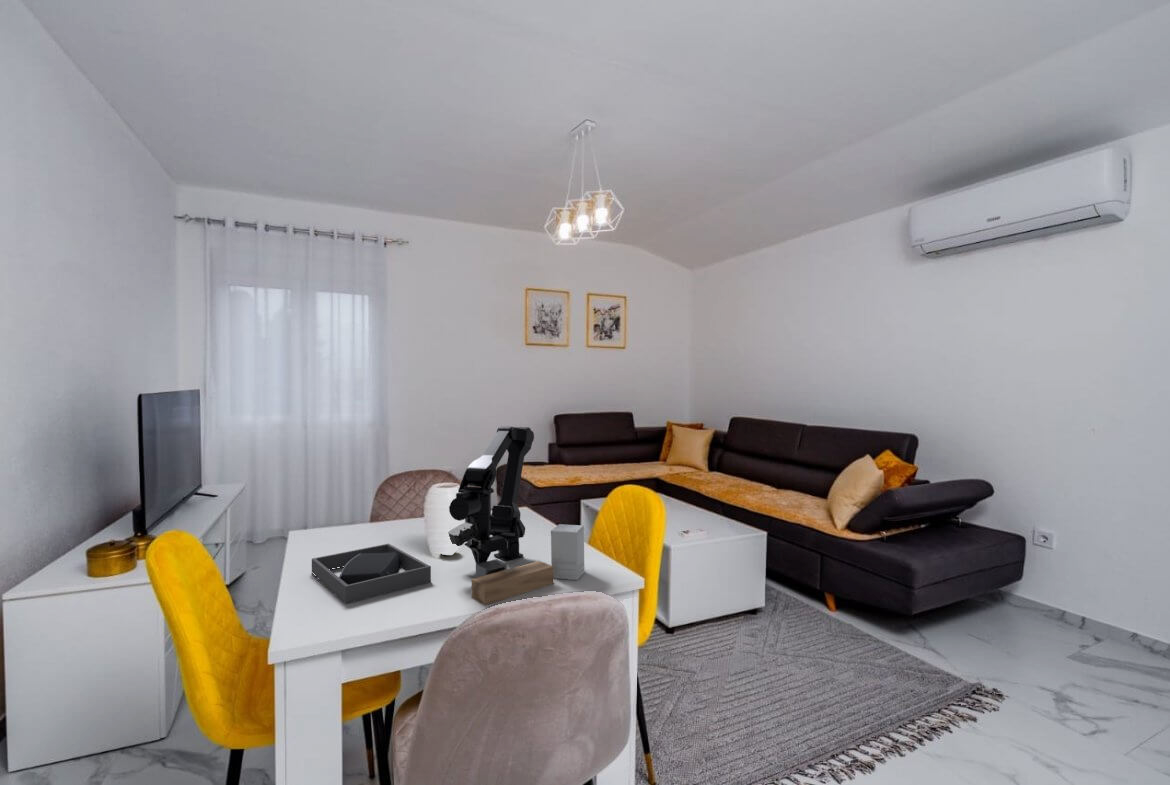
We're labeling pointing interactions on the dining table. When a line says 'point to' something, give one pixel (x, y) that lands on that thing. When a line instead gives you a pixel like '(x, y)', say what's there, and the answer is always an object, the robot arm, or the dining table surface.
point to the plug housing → (490, 567)
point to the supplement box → (567, 551)
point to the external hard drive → (369, 567)
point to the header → (511, 582)
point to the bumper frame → (374, 587)
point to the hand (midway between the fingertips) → (480, 570)
